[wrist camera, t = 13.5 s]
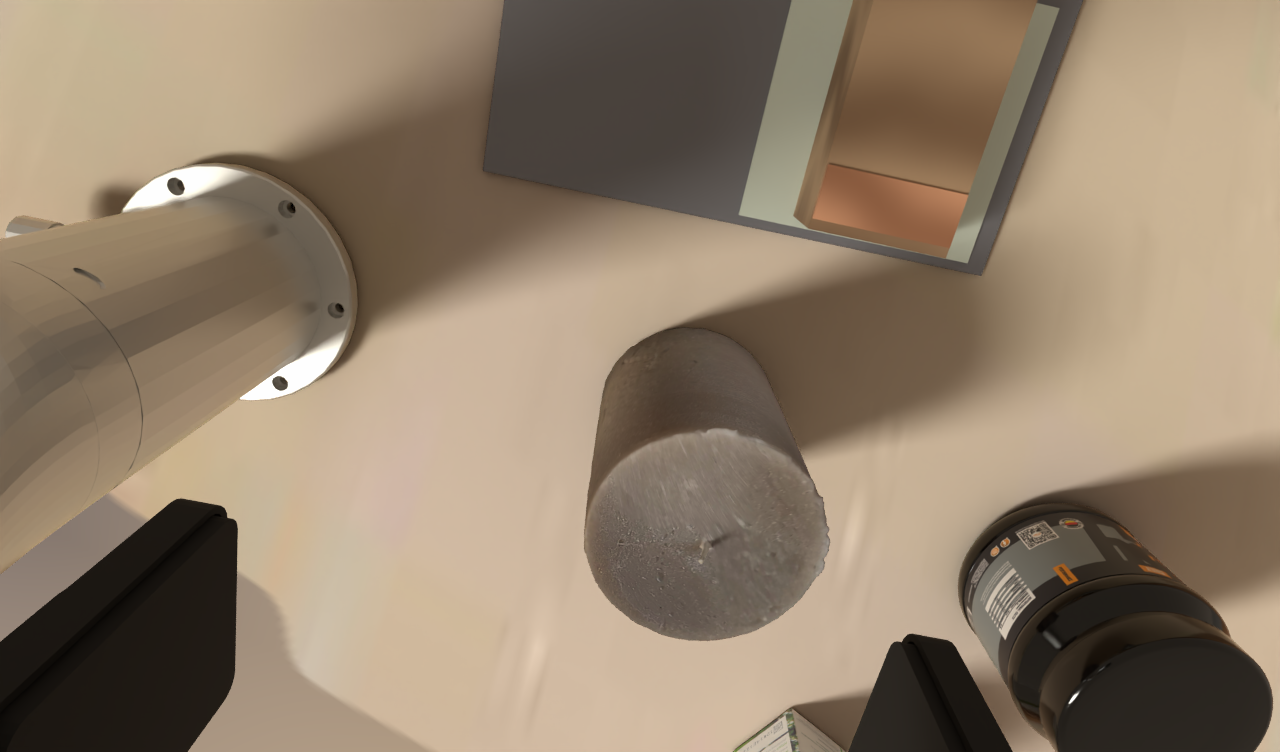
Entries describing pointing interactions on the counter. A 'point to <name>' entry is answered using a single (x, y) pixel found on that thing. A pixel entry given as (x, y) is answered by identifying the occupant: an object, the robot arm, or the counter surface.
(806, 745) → the syrup box
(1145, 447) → the counter surface
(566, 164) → the mat
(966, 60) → the brown rectangular block
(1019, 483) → the counter surface
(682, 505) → the pillar candle
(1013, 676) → the supplement container
